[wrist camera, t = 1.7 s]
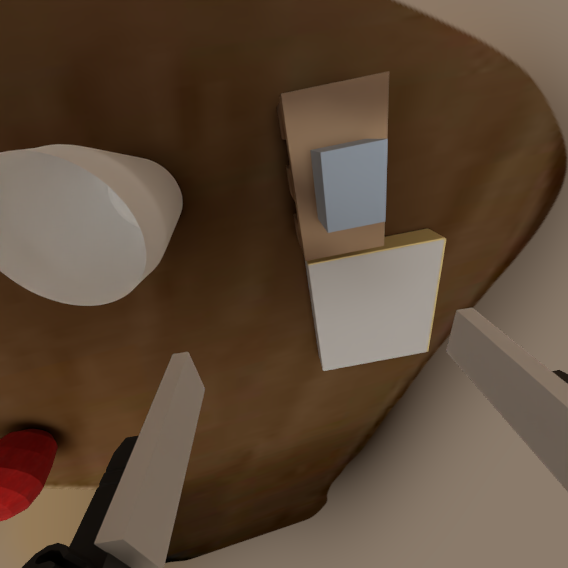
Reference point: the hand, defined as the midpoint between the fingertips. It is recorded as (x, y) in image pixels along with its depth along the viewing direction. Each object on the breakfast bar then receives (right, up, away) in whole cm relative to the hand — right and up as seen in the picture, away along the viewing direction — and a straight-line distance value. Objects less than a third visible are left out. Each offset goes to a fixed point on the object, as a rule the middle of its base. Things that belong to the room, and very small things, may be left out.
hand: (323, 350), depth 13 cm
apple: (-41, -21, +28) cm, 54 cm away
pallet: (+2, +14, +12) cm, 18 cm away
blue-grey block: (+2, +11, +6) cm, 13 cm away
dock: (+9, +1, +20) cm, 21 cm away
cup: (-15, +12, +12) cm, 22 cm away
